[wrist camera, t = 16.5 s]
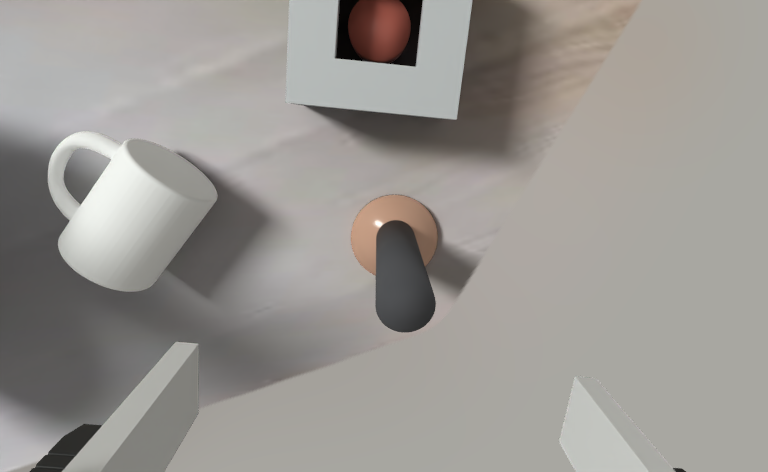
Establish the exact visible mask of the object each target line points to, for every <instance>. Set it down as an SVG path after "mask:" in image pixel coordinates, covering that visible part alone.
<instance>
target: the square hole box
mask: <svg viewBox="0 0 768 472" xmlns="http://www.w3.org/2000/svg"><path fill="white" fill-rule="evenodd" d="M339 5H340V0H289V20H288V46H287V72H286V98H285V103H291V104H298V105H305V106H315V107H325V108H335V109H345V110H355V111H365V112H375V113H385V114H395V115H405V116H415V117H425V118H435V119H452V120H457V113H458V106H459V98H460V91H461V83H462V76H463V68H464V61H465V53H466V45H467V38H468V30H469V23H470V15H471V8H472V0H423V3H422V12H421V21H420V31H419V40H418V49H417V59H416V67H413V66H404V65H394V64H385V63H375V62H365V61H356V60H346V59H337V58H336V51H337V36H338V20H339Z"/></svg>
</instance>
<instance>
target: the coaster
mask: <svg viewBox="0 0 768 472" xmlns="http://www.w3.org/2000/svg"><path fill="white" fill-rule="evenodd" d="M392 220H400V221H403V222H405V223H407V224H408V225H409V226H410V227H411V228H412V229H413V231H414V234H415V237H416V240H417V243H418V246H419V249H420V253H421V256H422V259H423V262H424V265H425V266H426V265H427V264H428V263H429V262H430V260H431V259H432V257H433V255H434V253H435V250H436V247H437V241H438V234H437V228H436V224H435V221H434V219H433V217H432V216H431V214H430V213H429V211H428V210H427V209H426V208H425V207H424V206H423V205H422V204H421V203H420V202H418V201H416V200H415V199H412V198H410V197H407V196H403V195H386V196H382V197H379V198H376V199H374V200H373V201H371V202H369V203H368V204H367V205H366V206H364V207H363V208H362V210H361V211H360V212H359V213H358V215H357V217H356V219H355V221H354V223H353V227H352V232H351V244H352V249H353V252H354V254H355V257H356V258H357V260H358V261H359V263H360V264H361V265H362V266H363V267H364V268H365V269H366V270H367V271H369V272H370V273H372V274H374V275H376V236H377V232H378V230H379V229H380V227H381V226H382V225H383V224H385V223H386V222H389V221H392Z"/></svg>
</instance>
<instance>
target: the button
mask: <svg viewBox="0 0 768 472" xmlns="http://www.w3.org/2000/svg"><path fill="white" fill-rule="evenodd" d="M410 30H411V24H410V18H409V15H408V12H407V10H406V8H405V7H404V5H403V4H402V3H401V2H400V1H399V0H359V1H358V2H357V3H356V5H355V6H354V7H353V9H352V11H351V14H350V16H349V21H348V32H349V37H350V40H351V43H352V45H353V48H354V50H355V52H356V53H357V54H358V56H359V57H360V58H362V59H363V60H364V61H366V62H375V63H385V64H388V63H391V62H393V61H394V60H396V59H397V58H398V57H399V56H400V55H401V54H402V52H403V51H404V49H405V47H406V44H407V42H408V39H409V36H410Z"/></svg>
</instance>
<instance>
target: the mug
mask: <svg viewBox="0 0 768 472" xmlns="http://www.w3.org/2000/svg"><path fill="white" fill-rule="evenodd" d="M80 148H84V149H89V150H93V151H95V152H98V153H100V154H102V155H104V156H106V157H107V158H109V159H110V160H111V161H110V163H109V164H108V166H107V167H106V169H105V170H104V172H103V173H102V175H101V176H100V178H99V179H98V181H97V182H96V184H95V185H94V186H93V188H92V189H91V191H90V192H89V194H88V195H87V197H86V198H85V200H84V201H83V203H82V204H80V203H78V202H77V201H76V200H75V199H74V198H73V197H72V195H71V194H70V193H69V192H68V190H67V188H66V186H65V183H64V172H65V168H66V165H67V163H68V161H69V159H70V157H71V155H72V154H73V153H74V151H76V150H77V149H80ZM48 186H49V190H50V194H51V196H52V199H53V201H54V203H55V204H56V206H57V207H58V209H59V210H60V211H61V212H62V214H63V215H64V216H65V217H66V218H67V219H69V220H70V222H69V223H68V225H67V226H66V228H65V229H64V230H63V232H62V233H61V235H60V237H59V240H58V248H59V251H60V254H61V256H62V257H63V259H64V260H65V261H66V263H67V264H68V265H69V266H70V267H71V268H72V269H73V270H75V271H76V272H77V273H78V274H80V275H81V276H83V277H84V278H86V279H88V280H90V281H92V282H94V283H96V284H98V285H100V286H103V287H106V288H109V289H113V290H117V291H125V292H136V291H142V290H145V289H147V288H149V287H151V286H152V285H153V284H154V283H155V282H156V280H157V279H158V278H159V276H160V275H161V274H162V272H163V271H164V270H165V268H166V267H167V266H168V264H169V263H170V262H171V261H172V259H173V258H174V257H175V255H176V254H177V253H178V251H179V250H180V249H181V247H182V246H183V245H184V243H185V242H186V241H187V239H188V238H189V237H190V235H191V234H192V233H193V231H194V230H195V229H196V227H197V226H198V225H199V223H200V222H201V221H202V219H203V218H204V217H205V215H206V214H207V213H208V211H209V210H210V209H211V208H212V206H213V205H214V204H215V202H216V201H217V198H218V195H217V191H216V189H215V187H214V185H213V184H212V182H211V181H210V180H209V179H208V178H207V177H206V176H205V175H204V174H203V173H202V172H201V171H200V170H199V169H198V168H196V167H195V166H194V165H193V164H191V163H190V162H189V161H187V160H186V159H184V158H183V157H181V156H180V155H178V154H176V153H174V152H173V151H171V150H169V149H167V148H165V147H163V146H161V145H158V144H156V143H153V142H150V141H147V140H142V139H128V140H126V141H125V142H124V143H123V144H121V143H119V142H117V141H116V140H114V139H112V138H110V137H108V136H106V135H103V134H100V133H96V132H90V131H84V132H78V133H75V134H72V135H70V136H69V137H67V138H65V139H64V140H63V141H62V142H61V143H60V144H59V145H58V146H57V147H56V149H55V150H54V152H53V154H52V156H51V159H50V162H49V166H48Z"/></svg>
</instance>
